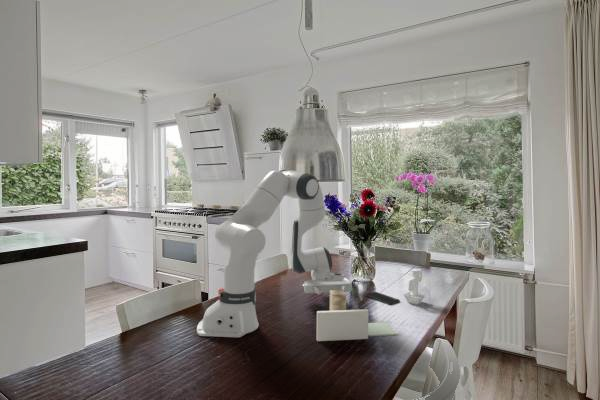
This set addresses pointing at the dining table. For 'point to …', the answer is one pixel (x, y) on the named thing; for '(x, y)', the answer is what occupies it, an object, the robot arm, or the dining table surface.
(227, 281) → the robot arm
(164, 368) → the dining table surface
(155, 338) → the dining table surface
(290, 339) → the dining table surface
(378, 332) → the pad
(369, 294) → the phone
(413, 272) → the figurine
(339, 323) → the upright white panel
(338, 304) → the marked block
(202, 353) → the dining table surface
